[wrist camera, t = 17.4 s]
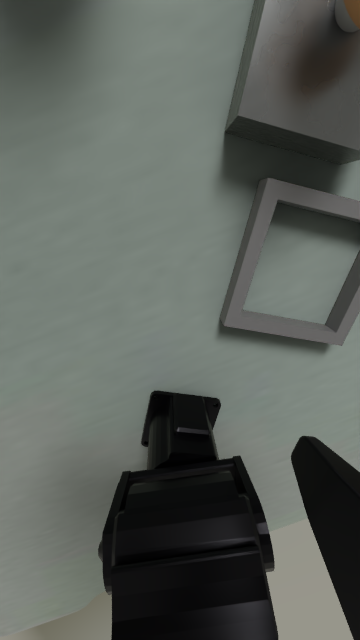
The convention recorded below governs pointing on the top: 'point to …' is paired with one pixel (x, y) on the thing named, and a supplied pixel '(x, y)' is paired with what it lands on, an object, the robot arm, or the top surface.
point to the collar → (351, 300)
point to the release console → (299, 81)
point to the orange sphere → (348, 14)
